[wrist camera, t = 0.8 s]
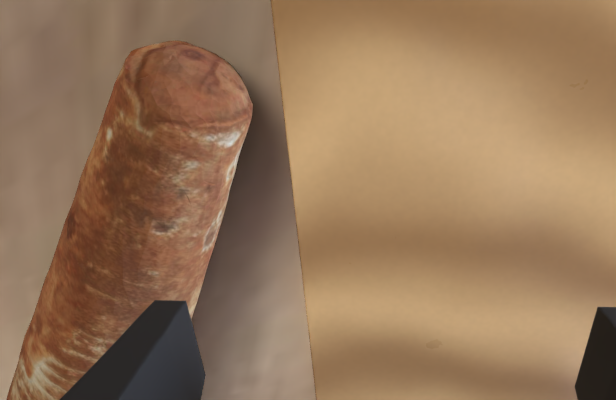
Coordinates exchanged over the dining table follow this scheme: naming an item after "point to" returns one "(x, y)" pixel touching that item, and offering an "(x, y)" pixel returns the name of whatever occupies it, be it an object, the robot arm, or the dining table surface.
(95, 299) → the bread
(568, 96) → the board
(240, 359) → the dining table surface
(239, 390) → the dining table surface
